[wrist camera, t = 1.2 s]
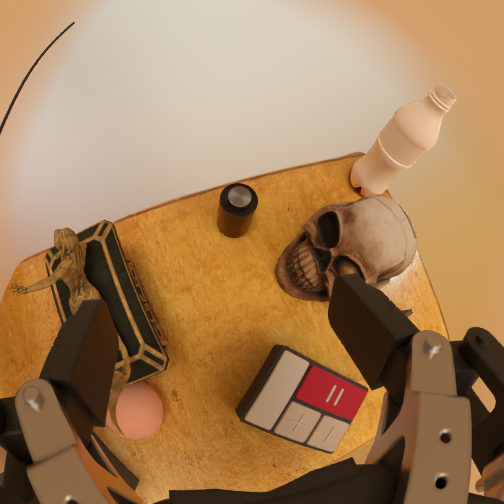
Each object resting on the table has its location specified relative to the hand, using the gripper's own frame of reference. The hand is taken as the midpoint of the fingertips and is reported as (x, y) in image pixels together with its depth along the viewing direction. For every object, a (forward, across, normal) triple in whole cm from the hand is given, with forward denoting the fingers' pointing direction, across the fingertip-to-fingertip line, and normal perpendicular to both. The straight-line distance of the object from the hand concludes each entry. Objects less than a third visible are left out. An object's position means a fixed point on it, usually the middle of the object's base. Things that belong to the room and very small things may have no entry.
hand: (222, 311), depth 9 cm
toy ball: (+14, +12, +25) cm, 31 cm away
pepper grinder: (+30, -4, +7) cm, 31 cm away
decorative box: (+21, +12, +17) cm, 29 cm away
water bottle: (+34, -28, +3) cm, 44 cm away
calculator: (+12, -10, +27) cm, 31 cm away
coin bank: (+25, -19, +13) cm, 34 cm away
